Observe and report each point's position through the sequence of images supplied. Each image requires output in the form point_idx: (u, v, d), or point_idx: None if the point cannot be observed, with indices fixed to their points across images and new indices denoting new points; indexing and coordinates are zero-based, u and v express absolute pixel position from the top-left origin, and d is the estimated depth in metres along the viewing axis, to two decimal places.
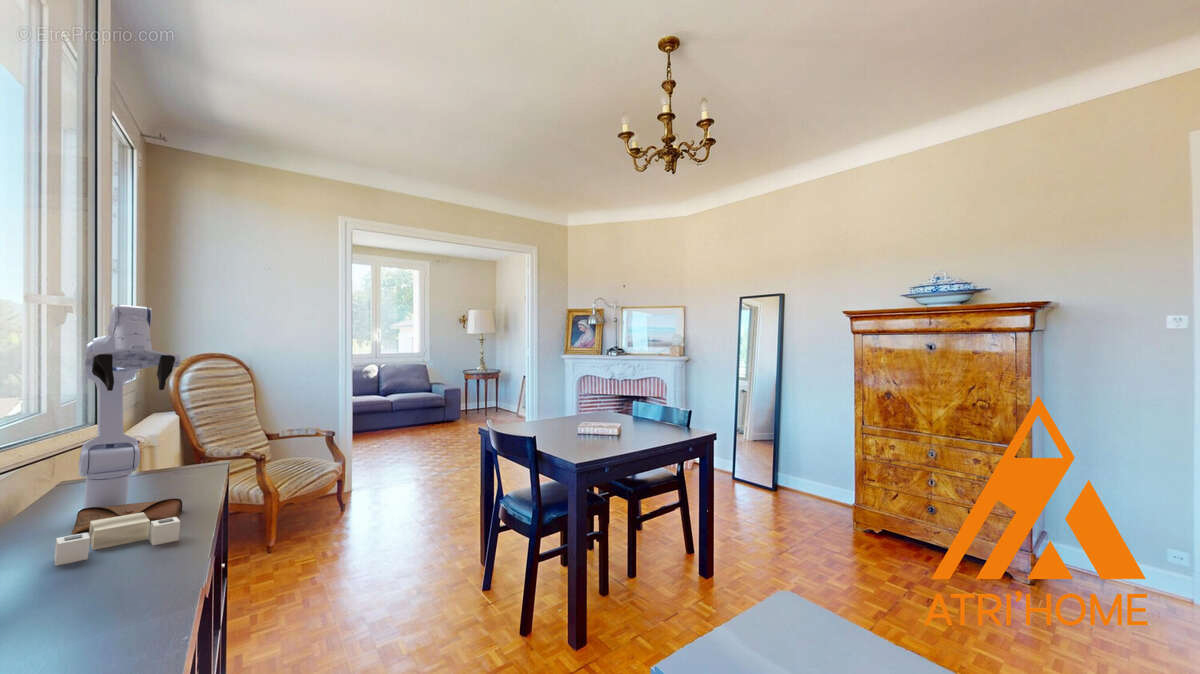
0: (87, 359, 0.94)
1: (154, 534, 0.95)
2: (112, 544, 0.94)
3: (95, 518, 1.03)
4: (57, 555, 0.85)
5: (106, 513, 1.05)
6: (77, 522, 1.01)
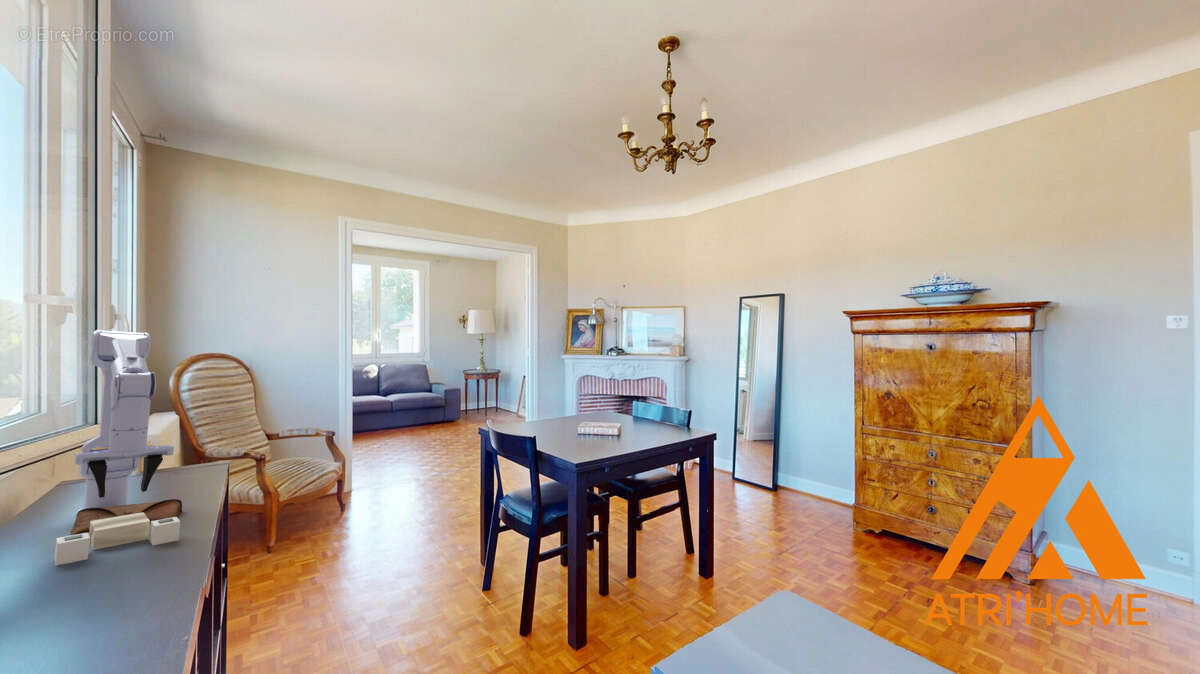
0: None
1: (154, 534, 0.95)
2: (112, 544, 0.94)
3: (94, 519, 1.02)
4: (57, 555, 0.85)
5: (105, 513, 1.04)
6: (76, 523, 1.01)
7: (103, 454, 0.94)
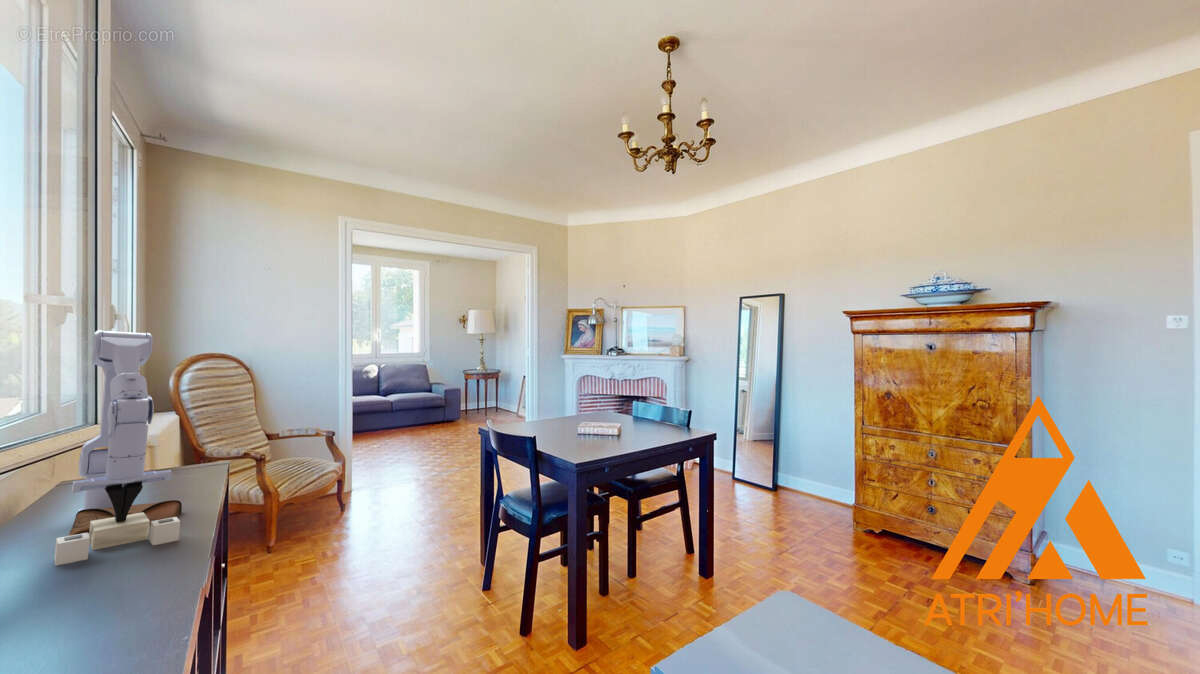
0: (74, 492, 0.92)
1: (154, 534, 0.95)
2: (112, 544, 0.94)
3: (93, 520, 1.02)
4: (57, 555, 0.85)
5: (104, 514, 1.04)
6: (75, 524, 1.00)
7: (100, 482, 0.94)
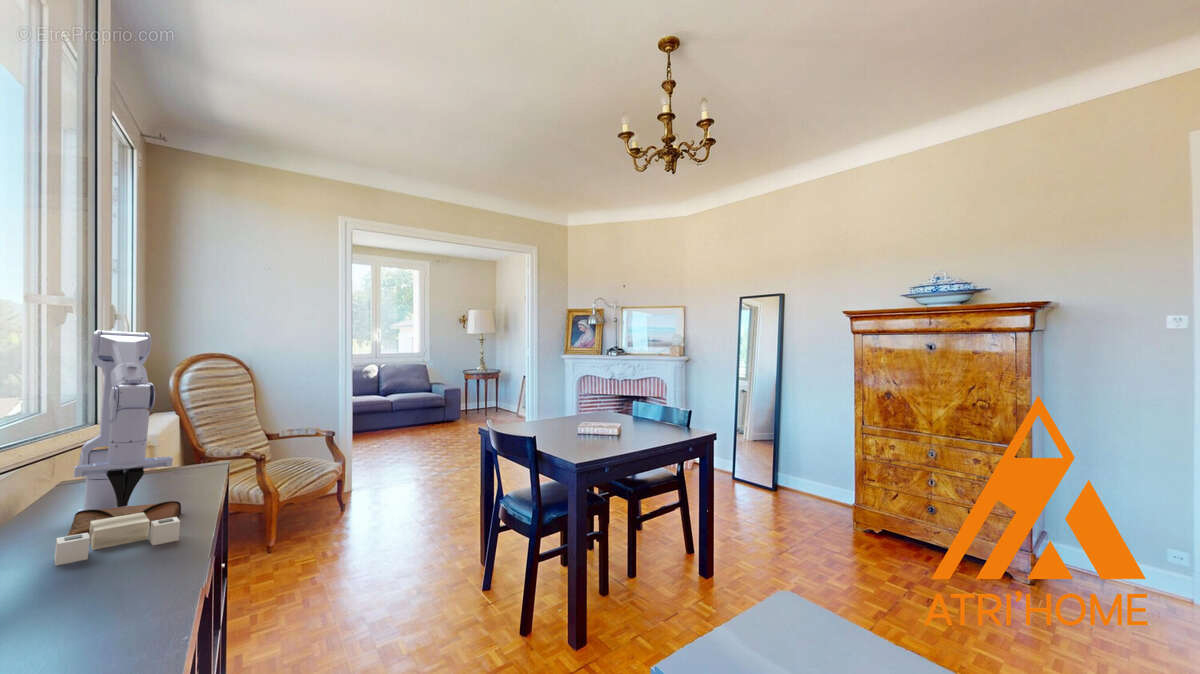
0: (75, 476, 0.92)
1: (154, 534, 0.95)
2: (112, 544, 0.94)
3: None
4: (57, 555, 0.85)
5: (103, 515, 1.03)
6: (73, 525, 1.00)
7: (102, 466, 0.94)
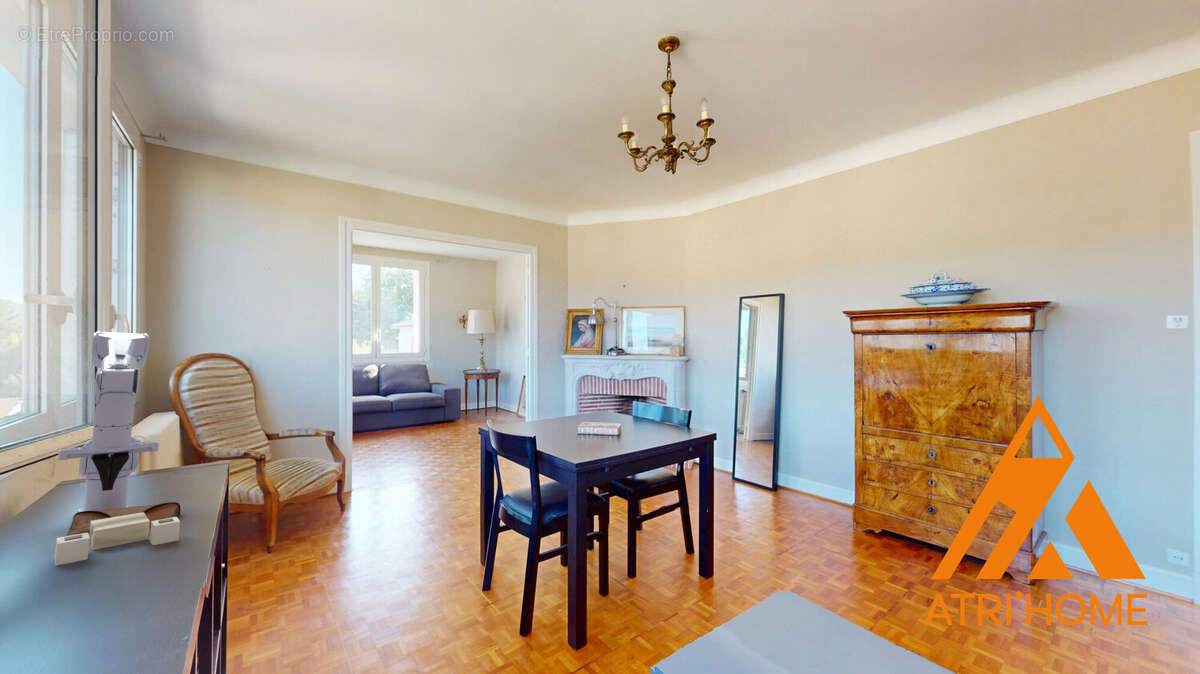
0: None
1: (154, 534, 0.95)
2: (112, 544, 0.94)
3: (90, 522, 1.00)
4: (57, 555, 0.85)
5: (101, 517, 1.02)
6: (72, 526, 0.99)
7: (86, 450, 0.94)
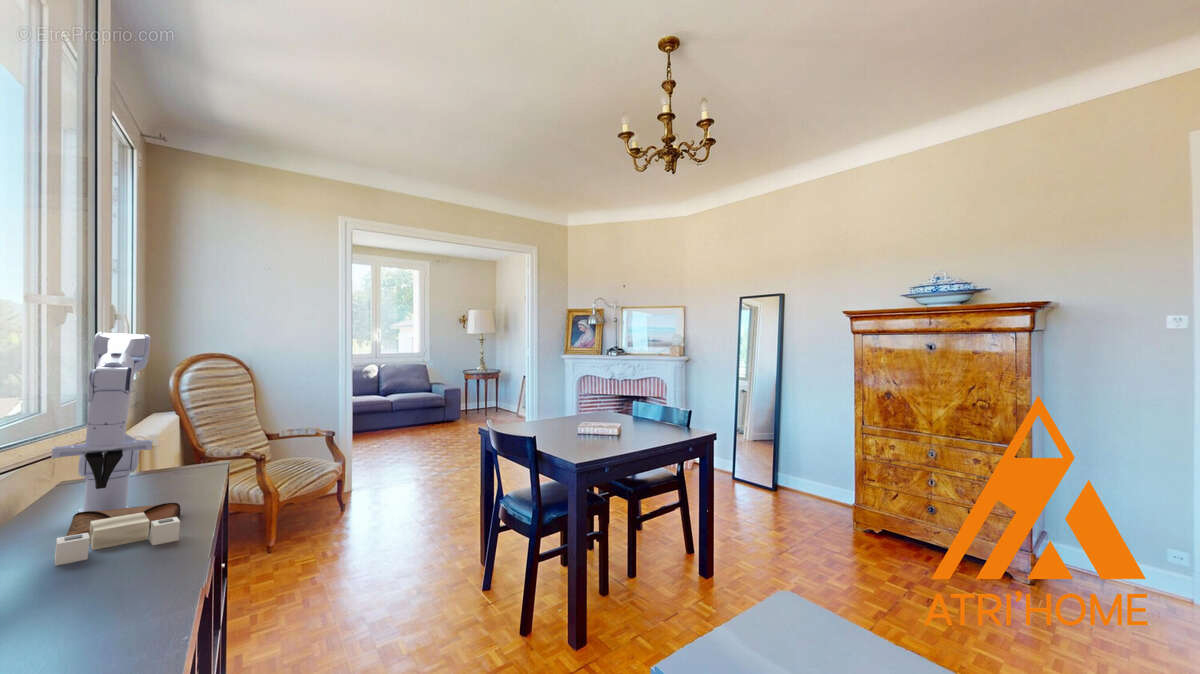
0: None
1: (154, 534, 0.95)
2: (112, 544, 0.94)
3: (89, 523, 1.00)
4: (57, 555, 0.85)
5: (101, 517, 1.02)
6: (71, 527, 0.99)
7: (80, 448, 0.94)
